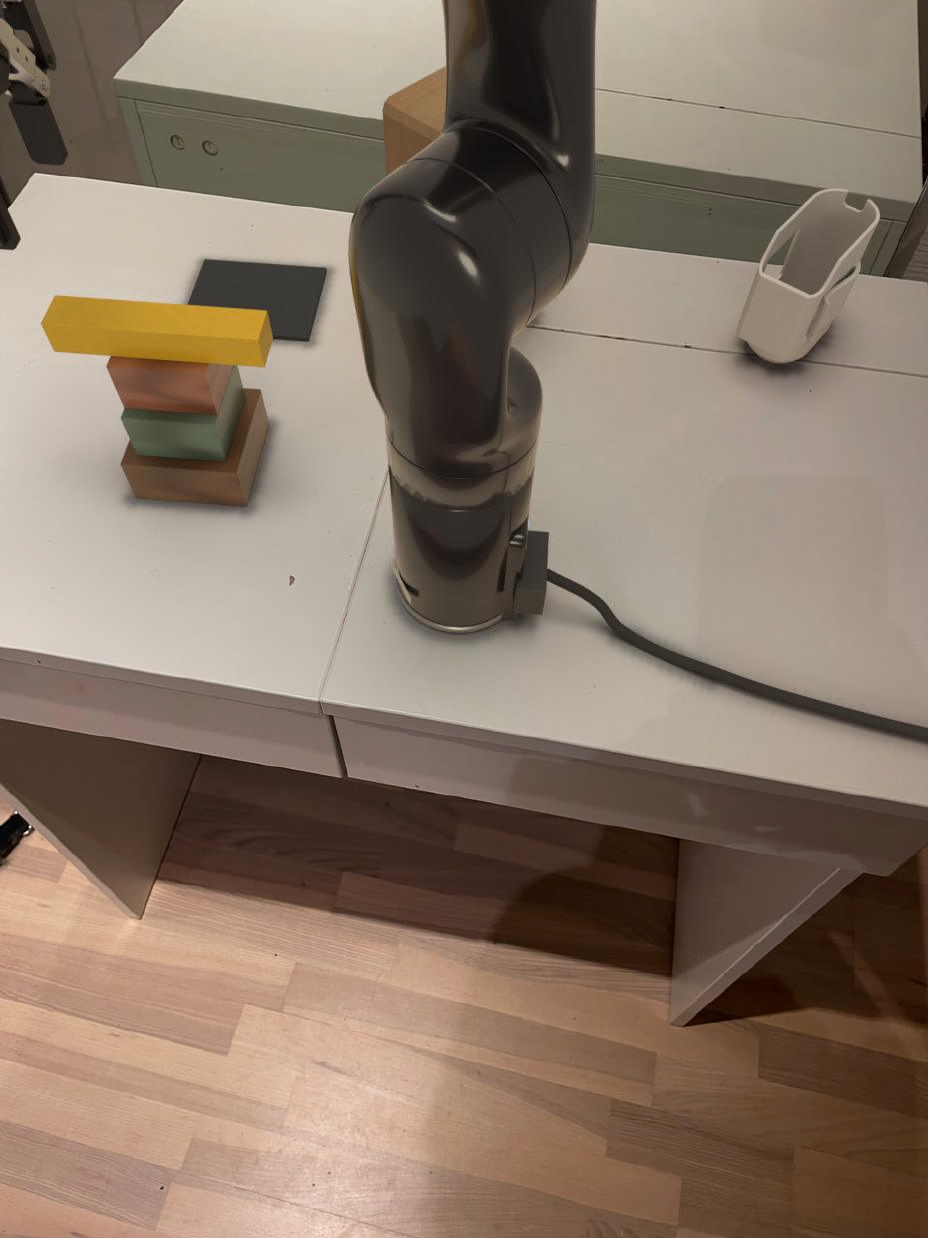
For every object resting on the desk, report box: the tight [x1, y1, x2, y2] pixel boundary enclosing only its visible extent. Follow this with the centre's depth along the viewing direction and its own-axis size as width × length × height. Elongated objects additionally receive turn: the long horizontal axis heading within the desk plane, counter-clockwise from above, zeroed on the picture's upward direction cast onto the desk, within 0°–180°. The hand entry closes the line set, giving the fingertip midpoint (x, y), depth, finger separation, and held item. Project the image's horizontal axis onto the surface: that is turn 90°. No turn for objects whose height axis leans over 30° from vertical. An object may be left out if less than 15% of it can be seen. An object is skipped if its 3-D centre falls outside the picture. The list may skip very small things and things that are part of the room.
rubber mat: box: [186, 258, 328, 342], centre depth 82 cm, size 12×10×1 cm
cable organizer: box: [735, 188, 881, 364], centre depth 76 cm, size 7×12×12 cm, turn 141°
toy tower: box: [105, 356, 270, 507], centre depth 67 cm, size 9×9×12 cm
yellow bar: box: [40, 294, 274, 368], centre depth 61 cm, size 15×3×2 cm, turn 85°
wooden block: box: [382, 65, 446, 177], centre depth 73 cm, size 10×10×20 cm
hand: (28, 201), depth 53 cm, fingers open, 8 cm apart
